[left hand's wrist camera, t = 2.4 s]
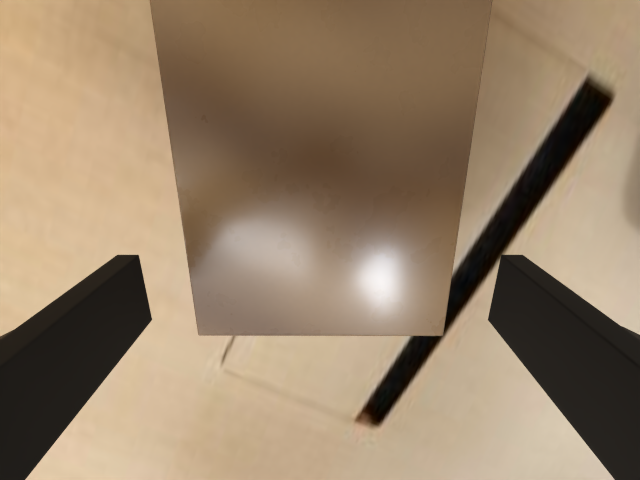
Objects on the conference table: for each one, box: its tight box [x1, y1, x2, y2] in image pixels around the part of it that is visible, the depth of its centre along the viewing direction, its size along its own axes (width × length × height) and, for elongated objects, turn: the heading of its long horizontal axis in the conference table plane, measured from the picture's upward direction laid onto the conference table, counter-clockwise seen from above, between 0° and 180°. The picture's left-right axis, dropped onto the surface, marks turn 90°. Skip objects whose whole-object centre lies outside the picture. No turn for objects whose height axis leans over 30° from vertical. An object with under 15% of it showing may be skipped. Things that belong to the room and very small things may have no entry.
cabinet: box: [150, 0, 492, 336], centre depth 18 cm, size 17×11×11 cm, turn 0°
